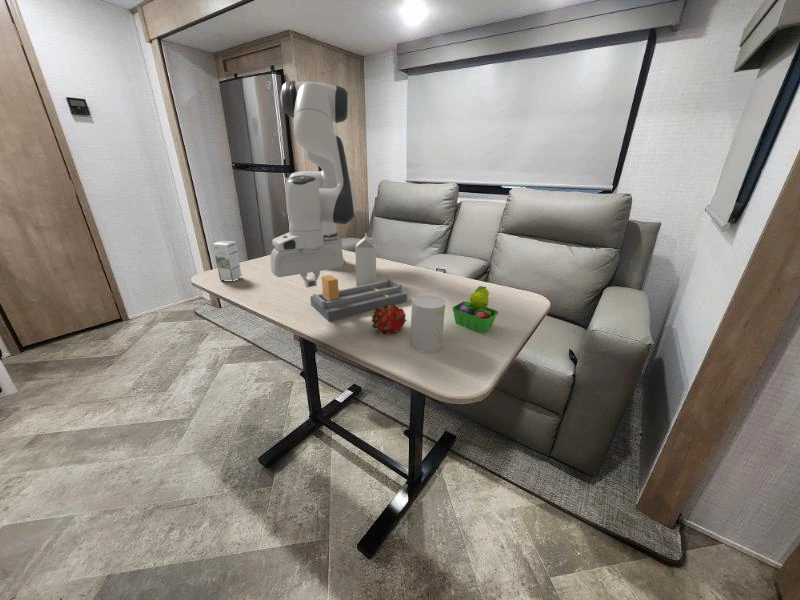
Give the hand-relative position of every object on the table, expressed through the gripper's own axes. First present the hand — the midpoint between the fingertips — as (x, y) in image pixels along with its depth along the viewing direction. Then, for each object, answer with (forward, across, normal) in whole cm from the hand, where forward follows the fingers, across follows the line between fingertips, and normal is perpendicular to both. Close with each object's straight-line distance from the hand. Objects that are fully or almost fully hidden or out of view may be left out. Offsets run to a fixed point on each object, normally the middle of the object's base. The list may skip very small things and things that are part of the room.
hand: (311, 286), depth 94 cm
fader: (+6, -6, 0) cm, 8 cm away
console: (+9, -16, 0) cm, 18 cm away
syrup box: (+9, +15, -46) cm, 50 cm away
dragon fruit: (+10, -14, +21) cm, 27 cm away
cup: (+10, -18, +32) cm, 38 cm away
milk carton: (+9, -27, -15) cm, 32 cm away
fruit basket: (+10, -37, +31) cm, 49 cm away
